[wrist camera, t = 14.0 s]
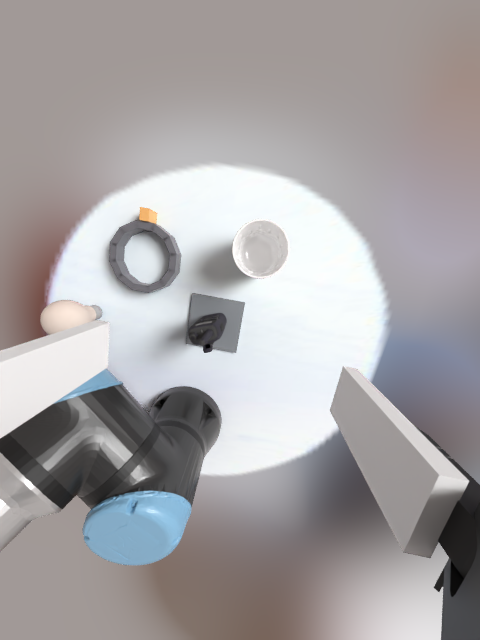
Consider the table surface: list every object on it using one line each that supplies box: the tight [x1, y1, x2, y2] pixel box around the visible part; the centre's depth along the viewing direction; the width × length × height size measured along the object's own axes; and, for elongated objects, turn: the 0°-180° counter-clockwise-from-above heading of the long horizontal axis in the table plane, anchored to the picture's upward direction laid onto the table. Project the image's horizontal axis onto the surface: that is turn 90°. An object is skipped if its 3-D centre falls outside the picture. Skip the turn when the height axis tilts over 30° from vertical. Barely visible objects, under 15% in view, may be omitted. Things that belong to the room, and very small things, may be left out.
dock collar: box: [109, 207, 181, 293], centre depth 40 cm, size 14×12×3 cm
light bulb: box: [40, 300, 102, 335], centre depth 40 cm, size 7×7×11 cm
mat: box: [186, 293, 245, 353], centre depth 44 cm, size 10×10×1 cm
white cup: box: [232, 219, 290, 279], centre depth 36 cm, size 8×8×10 cm
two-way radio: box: [188, 313, 227, 353], centre depth 36 cm, size 6×4×15 cm
